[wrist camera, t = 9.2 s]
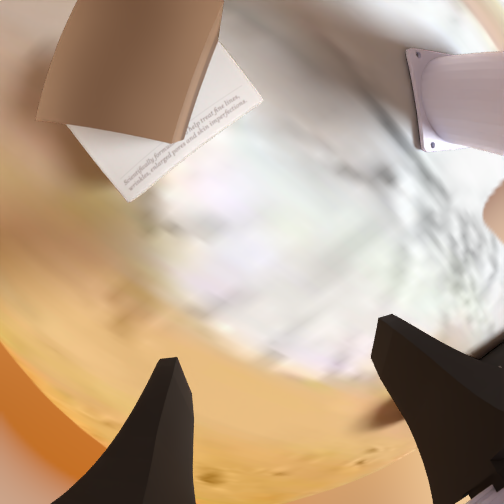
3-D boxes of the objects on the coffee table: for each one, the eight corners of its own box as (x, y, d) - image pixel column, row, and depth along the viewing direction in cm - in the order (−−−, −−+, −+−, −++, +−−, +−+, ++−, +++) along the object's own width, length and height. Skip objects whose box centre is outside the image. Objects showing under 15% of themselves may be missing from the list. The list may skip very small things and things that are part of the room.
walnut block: (217, 42, 10) (224, 1, 6) (183, 139, 11) (171, 144, 7) (119, 26, 8) (84, -13, 4) (86, 120, 10) (35, 120, 6)
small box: (147, 186, 17) (125, 209, 12) (78, 96, 13) (36, 89, 9) (252, 109, 16) (269, 101, 11) (178, 17, 12) (168, -19, 8)
